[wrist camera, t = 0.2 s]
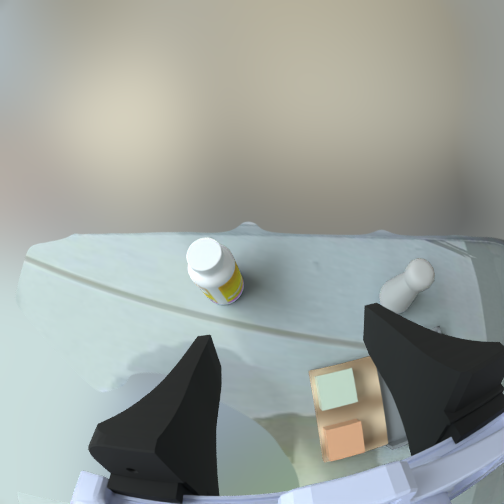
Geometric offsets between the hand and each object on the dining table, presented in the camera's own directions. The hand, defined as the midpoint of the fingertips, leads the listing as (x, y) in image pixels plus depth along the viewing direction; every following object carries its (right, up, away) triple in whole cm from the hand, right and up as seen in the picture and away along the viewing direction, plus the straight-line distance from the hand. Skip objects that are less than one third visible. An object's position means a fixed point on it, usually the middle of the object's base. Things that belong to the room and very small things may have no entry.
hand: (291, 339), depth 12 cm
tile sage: (+10, -16, +23) cm, 30 cm away
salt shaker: (+21, -4, +30) cm, 37 cm away
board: (+13, -20, +23) cm, 33 cm away
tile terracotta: (+11, -23, +19) cm, 32 cm away
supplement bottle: (-6, -2, +34) cm, 35 cm away
